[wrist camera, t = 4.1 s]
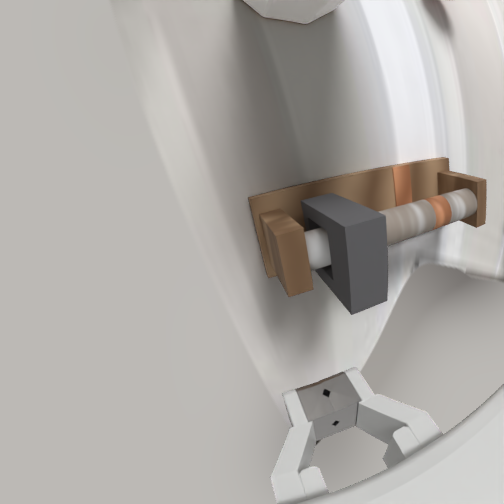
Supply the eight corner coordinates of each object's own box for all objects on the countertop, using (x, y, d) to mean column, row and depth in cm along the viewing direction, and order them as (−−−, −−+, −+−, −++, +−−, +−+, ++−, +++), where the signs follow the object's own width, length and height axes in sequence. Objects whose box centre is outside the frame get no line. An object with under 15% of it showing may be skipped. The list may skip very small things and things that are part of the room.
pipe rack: (442, 157, 26) (487, 165, 19) (445, 217, 29) (486, 235, 22) (248, 197, 25) (263, 216, 18) (266, 273, 28) (285, 314, 21)
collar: (332, 192, 23) (385, 215, 15) (340, 258, 25) (387, 300, 18) (300, 200, 23) (344, 227, 15) (312, 266, 25) (351, 314, 18)
